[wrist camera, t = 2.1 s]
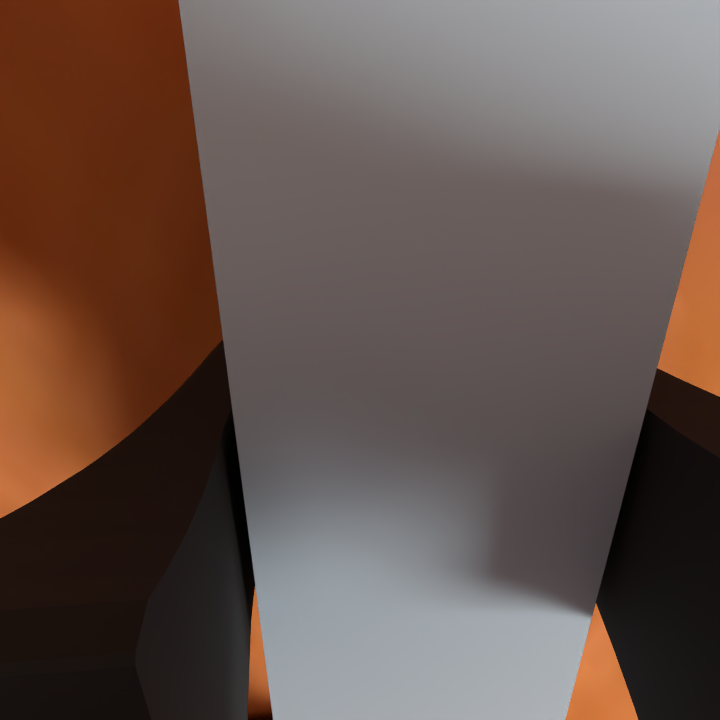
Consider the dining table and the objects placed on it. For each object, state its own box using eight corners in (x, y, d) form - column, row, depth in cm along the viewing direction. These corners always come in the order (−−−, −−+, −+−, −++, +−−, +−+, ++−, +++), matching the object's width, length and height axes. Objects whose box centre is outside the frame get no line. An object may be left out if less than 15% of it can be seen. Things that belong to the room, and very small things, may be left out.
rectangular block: (471, 546, 16) (547, 786, 11) (288, 560, 15) (285, 813, 11) (533, -20, 10) (760, -29, 5) (235, -16, 9) (175, -24, 5)
